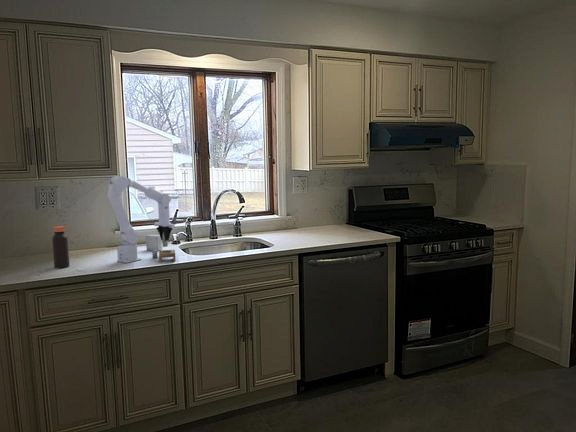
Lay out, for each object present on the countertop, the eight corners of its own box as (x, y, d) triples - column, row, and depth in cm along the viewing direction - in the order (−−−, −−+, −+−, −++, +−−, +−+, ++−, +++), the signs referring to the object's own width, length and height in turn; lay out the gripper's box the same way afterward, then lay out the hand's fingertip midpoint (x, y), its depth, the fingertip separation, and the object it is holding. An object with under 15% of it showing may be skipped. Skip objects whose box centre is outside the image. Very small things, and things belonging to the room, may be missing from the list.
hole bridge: (175, 261, 241) (175, 253, 241) (159, 262, 239) (159, 253, 239) (175, 258, 250) (174, 249, 249) (159, 258, 248) (159, 250, 247)
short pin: (154, 258, 249) (154, 251, 248) (151, 258, 250) (151, 250, 250) (158, 257, 251) (158, 250, 250) (155, 257, 252) (155, 250, 252)
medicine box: (162, 249, 273) (162, 234, 272) (158, 251, 269) (157, 236, 268) (150, 248, 275) (149, 234, 274) (146, 250, 271) (145, 235, 270)
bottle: (71, 265, 235) (69, 225, 233) (65, 268, 229) (63, 227, 226) (58, 265, 235) (55, 225, 233) (51, 268, 228) (48, 228, 226)
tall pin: (164, 246, 255) (164, 232, 254) (161, 246, 257) (161, 231, 256) (168, 246, 257) (168, 231, 256) (165, 245, 259) (165, 231, 258)
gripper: (178, 215, 254) (179, 240, 255) (161, 213, 262) (162, 237, 264) (168, 216, 248) (169, 242, 250) (150, 215, 256) (151, 239, 258)
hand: (165, 240), depth 256 cm, fingers closed on tall pin, 3 cm apart
